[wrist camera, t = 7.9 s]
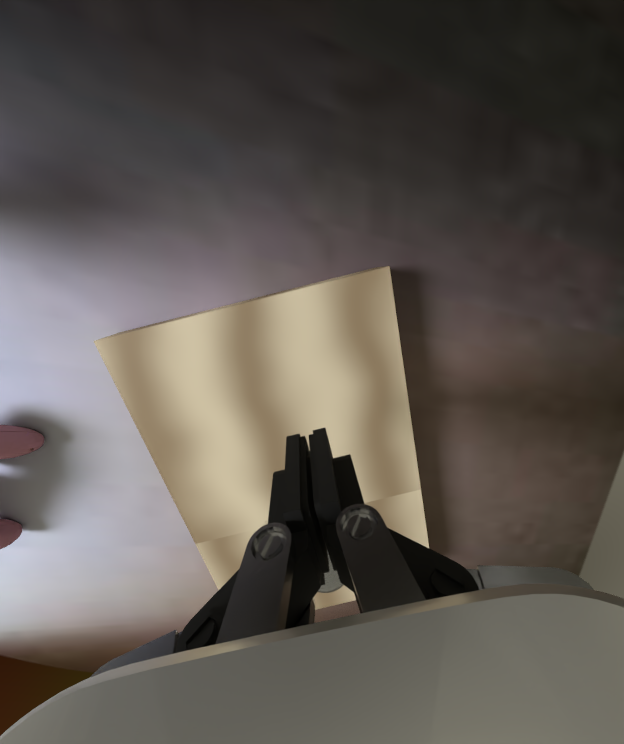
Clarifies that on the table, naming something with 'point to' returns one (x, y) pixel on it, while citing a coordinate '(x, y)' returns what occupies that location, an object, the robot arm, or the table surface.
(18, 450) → the video game controller
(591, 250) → the table surface
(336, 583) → the steel ball
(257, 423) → the hole board
